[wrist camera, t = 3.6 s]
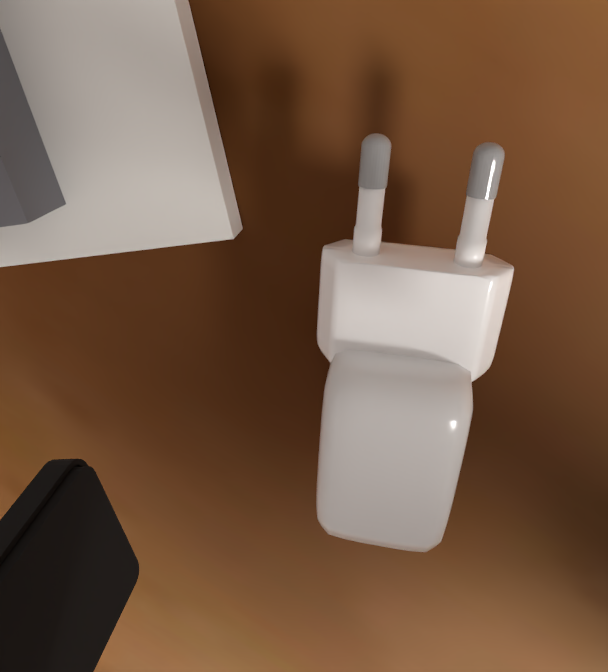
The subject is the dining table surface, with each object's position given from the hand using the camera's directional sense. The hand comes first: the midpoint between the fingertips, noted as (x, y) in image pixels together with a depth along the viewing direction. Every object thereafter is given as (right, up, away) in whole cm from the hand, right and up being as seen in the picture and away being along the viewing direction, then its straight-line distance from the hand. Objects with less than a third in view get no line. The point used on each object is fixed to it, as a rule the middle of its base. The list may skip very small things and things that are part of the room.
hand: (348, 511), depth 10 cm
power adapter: (+3, +4, +9) cm, 10 cm away
